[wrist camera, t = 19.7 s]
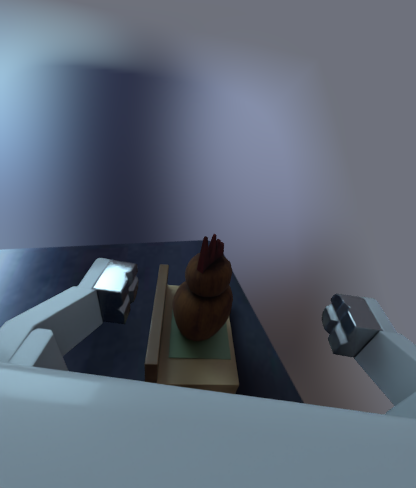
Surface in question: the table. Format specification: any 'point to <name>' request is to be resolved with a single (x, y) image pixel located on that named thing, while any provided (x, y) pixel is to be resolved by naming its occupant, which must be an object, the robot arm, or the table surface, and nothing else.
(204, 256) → the wooden figurine
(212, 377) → the l-shaped display stand
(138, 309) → the table surface
